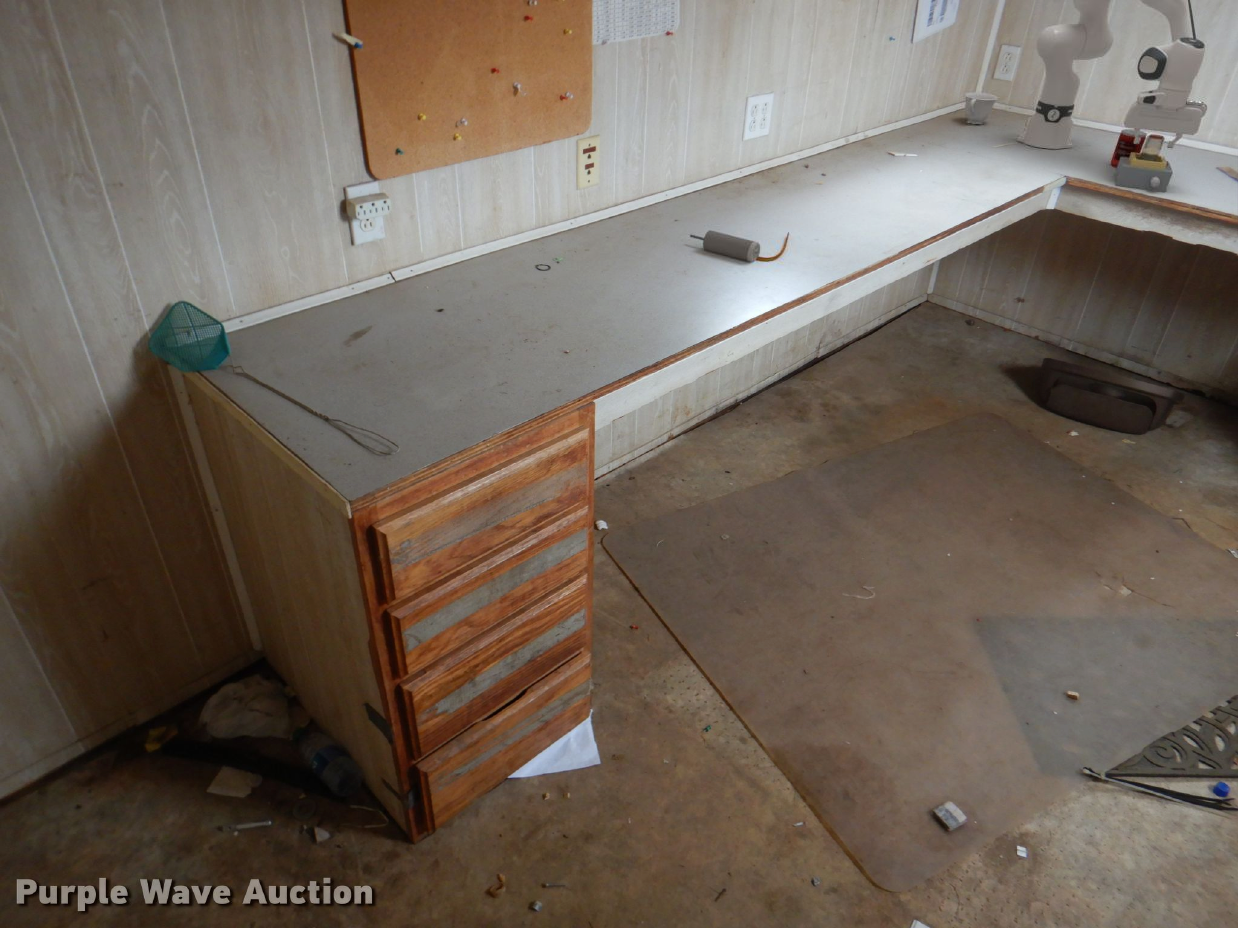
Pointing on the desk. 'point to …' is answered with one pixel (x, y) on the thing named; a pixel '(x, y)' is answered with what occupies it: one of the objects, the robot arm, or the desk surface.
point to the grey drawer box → (1143, 173)
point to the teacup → (978, 106)
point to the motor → (734, 246)
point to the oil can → (1152, 147)
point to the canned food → (1127, 145)
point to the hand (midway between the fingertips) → (1152, 145)
